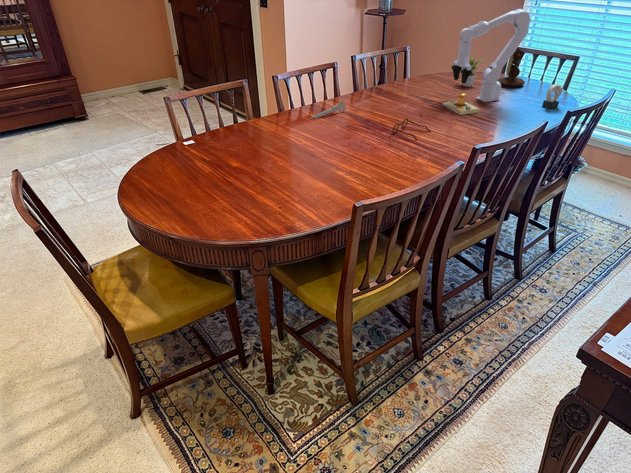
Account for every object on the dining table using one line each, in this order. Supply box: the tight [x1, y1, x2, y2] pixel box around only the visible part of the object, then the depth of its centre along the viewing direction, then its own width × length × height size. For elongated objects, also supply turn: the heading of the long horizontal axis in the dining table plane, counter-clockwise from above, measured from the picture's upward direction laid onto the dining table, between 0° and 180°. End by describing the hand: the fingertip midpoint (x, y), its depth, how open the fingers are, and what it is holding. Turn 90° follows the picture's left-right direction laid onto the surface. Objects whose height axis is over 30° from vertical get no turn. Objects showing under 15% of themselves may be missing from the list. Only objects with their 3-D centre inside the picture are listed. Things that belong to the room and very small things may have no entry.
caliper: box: [310, 100, 346, 120], centre depth 219 cm, size 20×1×6 cm, turn 119°
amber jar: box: [456, 92, 468, 107], centre depth 220 cm, size 5×5×7 cm
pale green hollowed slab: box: [441, 100, 480, 116], centre depth 221 cm, size 10×18×3 cm, turn 15°
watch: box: [541, 84, 564, 110], centre depth 215 cm, size 6×8×11 cm
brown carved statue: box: [497, 47, 526, 88], centre depth 248 cm, size 15×15×20 cm
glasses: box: [391, 117, 432, 141], centre depth 194 cm, size 13×13×5 cm
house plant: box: [462, 56, 486, 88], centre depth 251 cm, size 14×14×16 cm
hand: (459, 81), depth 229 cm, fingers open, 7 cm apart
